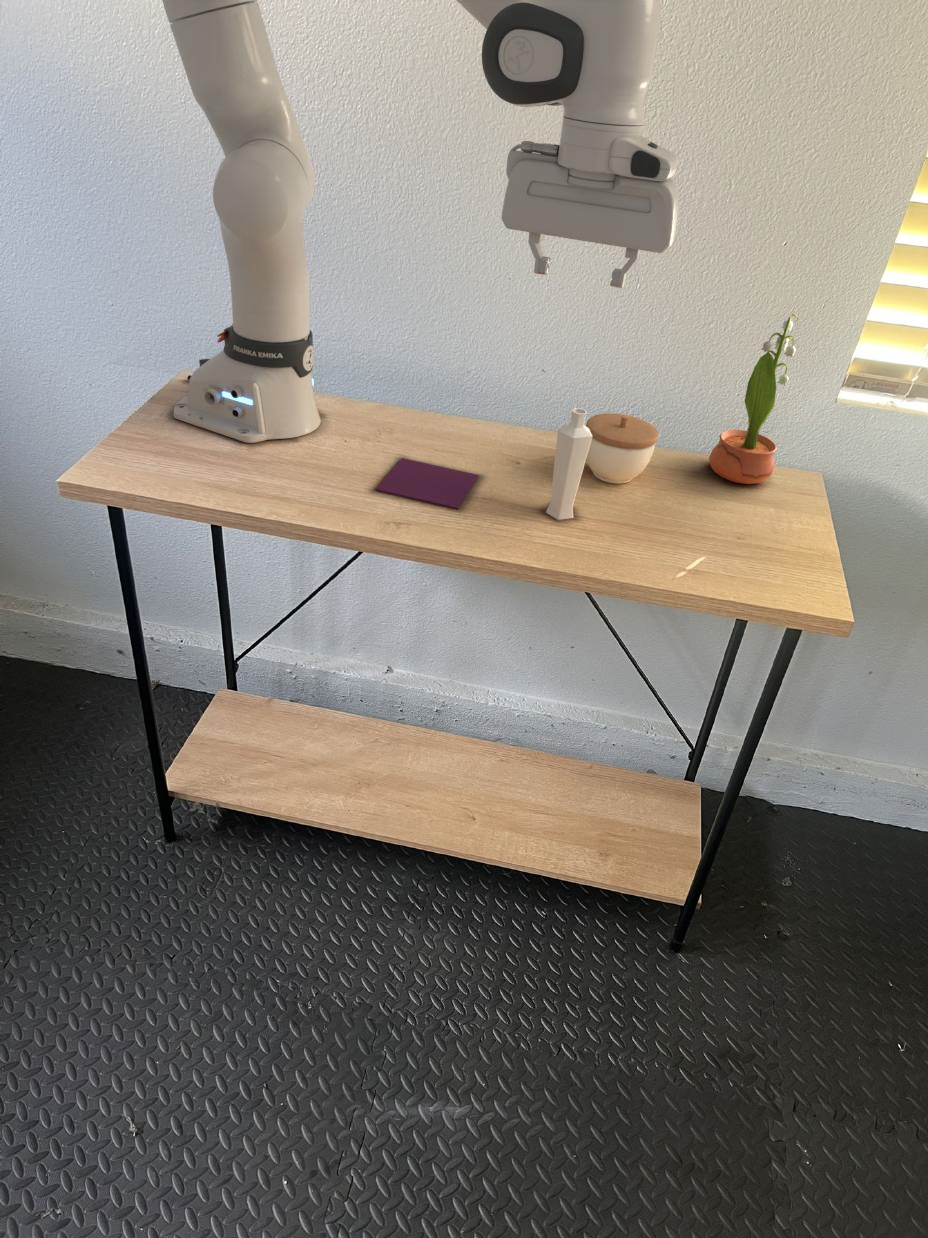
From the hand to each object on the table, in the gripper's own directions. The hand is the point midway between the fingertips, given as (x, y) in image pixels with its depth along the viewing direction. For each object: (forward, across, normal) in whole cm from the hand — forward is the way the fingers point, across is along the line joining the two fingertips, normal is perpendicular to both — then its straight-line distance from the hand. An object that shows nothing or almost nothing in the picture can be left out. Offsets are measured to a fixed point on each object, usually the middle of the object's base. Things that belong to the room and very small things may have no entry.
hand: (578, 279), depth 102 cm
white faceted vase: (+31, +3, -2) cm, 31 cm away
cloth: (+30, -17, -3) cm, 35 cm away
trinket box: (+31, +7, +15) cm, 35 cm away
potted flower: (+31, +25, +27) cm, 48 cm away
